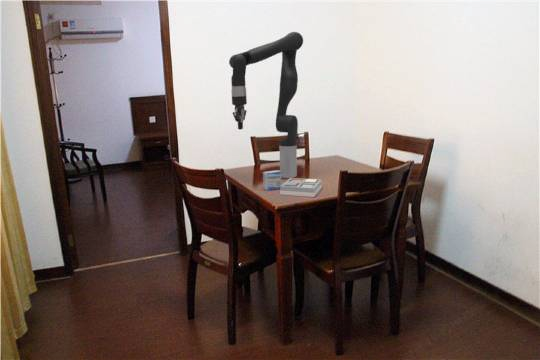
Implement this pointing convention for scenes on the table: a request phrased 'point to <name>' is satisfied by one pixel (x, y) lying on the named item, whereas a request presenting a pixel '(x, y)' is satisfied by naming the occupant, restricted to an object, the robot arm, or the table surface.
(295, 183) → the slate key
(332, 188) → the table surface
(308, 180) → the cream key
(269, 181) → the medicine box
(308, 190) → the keypad
